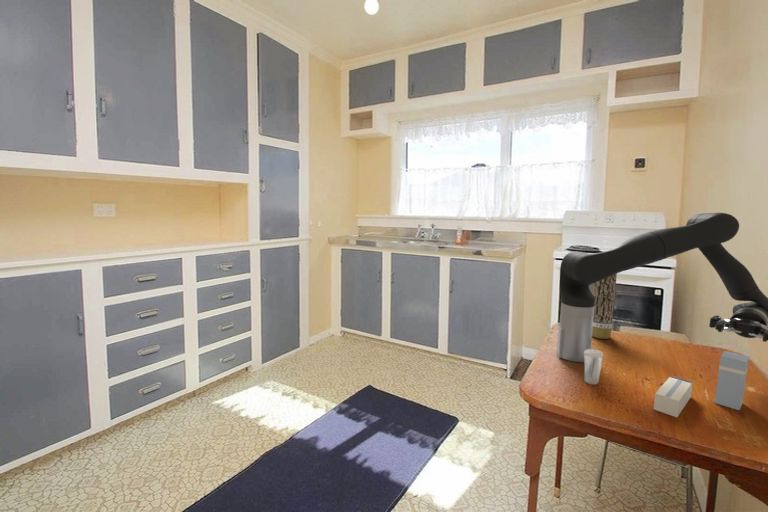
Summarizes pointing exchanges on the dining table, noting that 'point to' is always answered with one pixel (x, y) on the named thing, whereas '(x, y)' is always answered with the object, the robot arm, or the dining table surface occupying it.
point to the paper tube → (603, 307)
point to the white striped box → (673, 396)
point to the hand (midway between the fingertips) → (741, 332)
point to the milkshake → (592, 365)
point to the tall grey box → (731, 380)
